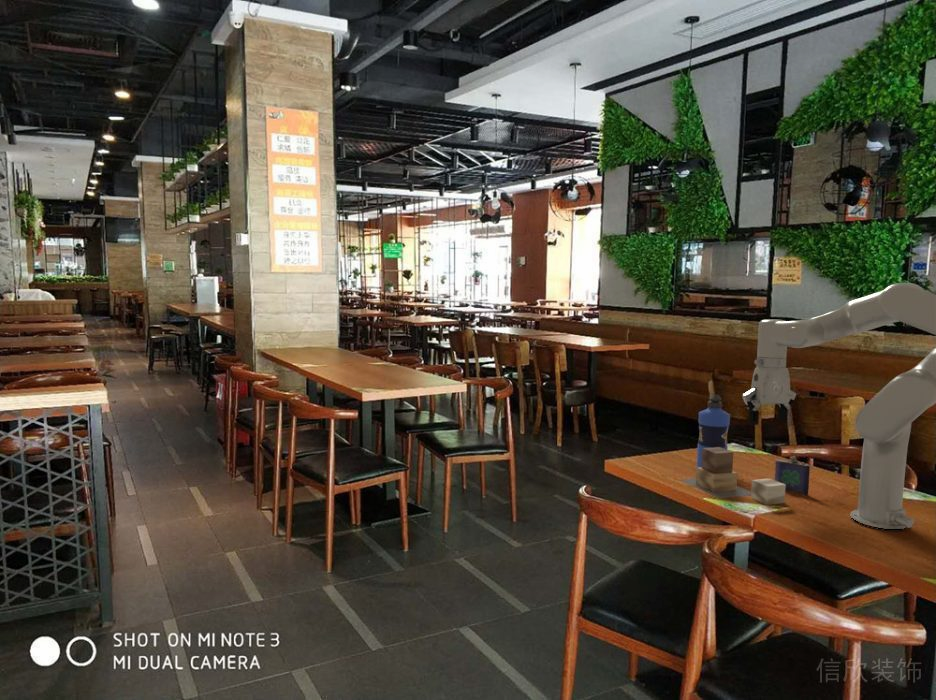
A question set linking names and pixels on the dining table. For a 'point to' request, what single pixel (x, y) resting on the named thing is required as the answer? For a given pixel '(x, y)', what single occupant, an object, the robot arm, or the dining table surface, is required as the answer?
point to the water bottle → (712, 427)
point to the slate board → (721, 494)
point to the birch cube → (768, 491)
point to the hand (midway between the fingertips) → (767, 423)
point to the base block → (716, 480)
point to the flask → (793, 475)
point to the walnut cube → (717, 460)
